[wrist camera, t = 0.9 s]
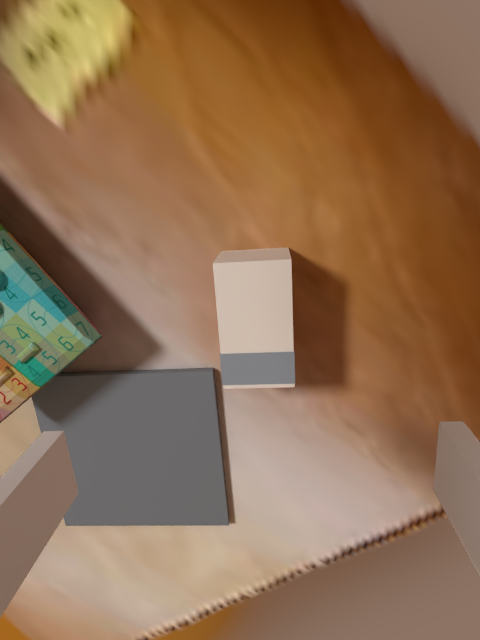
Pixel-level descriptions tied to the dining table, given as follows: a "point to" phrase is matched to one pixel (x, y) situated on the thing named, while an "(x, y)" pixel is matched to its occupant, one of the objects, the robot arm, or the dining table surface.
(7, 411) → the puzzle game
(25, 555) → the robot arm
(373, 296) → the dining table surface
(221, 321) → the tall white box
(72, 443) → the mat
